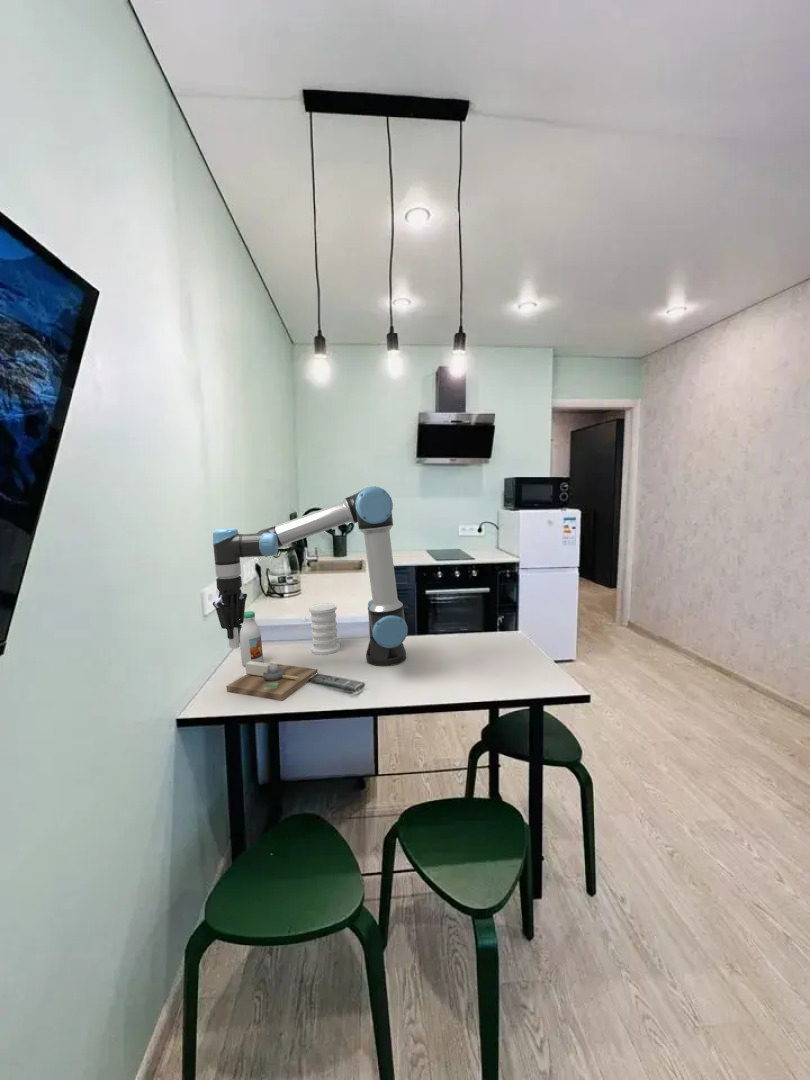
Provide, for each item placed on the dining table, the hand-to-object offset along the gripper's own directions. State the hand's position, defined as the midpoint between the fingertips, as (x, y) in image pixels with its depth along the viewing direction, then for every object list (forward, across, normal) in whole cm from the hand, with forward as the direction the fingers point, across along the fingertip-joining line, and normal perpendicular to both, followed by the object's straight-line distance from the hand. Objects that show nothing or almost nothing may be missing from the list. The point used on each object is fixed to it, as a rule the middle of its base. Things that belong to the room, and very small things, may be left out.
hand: (234, 647), depth 143 cm
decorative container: (+14, -40, +9) cm, 43 cm away
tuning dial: (+12, -8, +9) cm, 17 cm away
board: (+14, -8, +8) cm, 18 cm away
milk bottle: (+15, -20, -11) cm, 27 cm away
